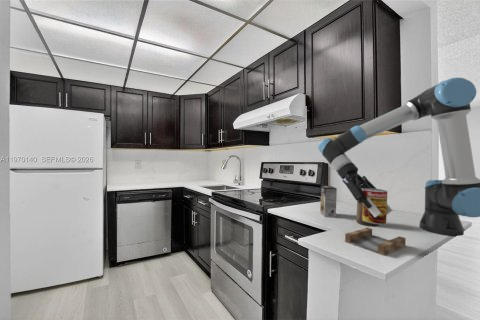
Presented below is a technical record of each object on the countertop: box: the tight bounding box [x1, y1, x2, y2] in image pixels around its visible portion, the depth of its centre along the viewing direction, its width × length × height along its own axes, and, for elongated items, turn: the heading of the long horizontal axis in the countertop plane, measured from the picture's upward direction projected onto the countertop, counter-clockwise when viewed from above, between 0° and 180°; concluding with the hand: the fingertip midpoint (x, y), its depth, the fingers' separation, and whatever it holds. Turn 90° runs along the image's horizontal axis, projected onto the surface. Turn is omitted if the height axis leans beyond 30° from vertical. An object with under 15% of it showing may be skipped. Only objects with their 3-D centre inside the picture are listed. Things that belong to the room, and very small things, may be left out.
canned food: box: [362, 188, 388, 225], centre depth 85 cm, size 8×8×12 cm
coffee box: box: [319, 185, 338, 218], centre depth 127 cm, size 9×6×16 cm
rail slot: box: [344, 227, 407, 256], centre depth 85 cm, size 16×14×3 cm
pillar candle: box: [356, 200, 380, 227], centre depth 112 cm, size 10×10×15 cm
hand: (383, 213), depth 82 cm, fingers closed on canned food, 8 cm apart
